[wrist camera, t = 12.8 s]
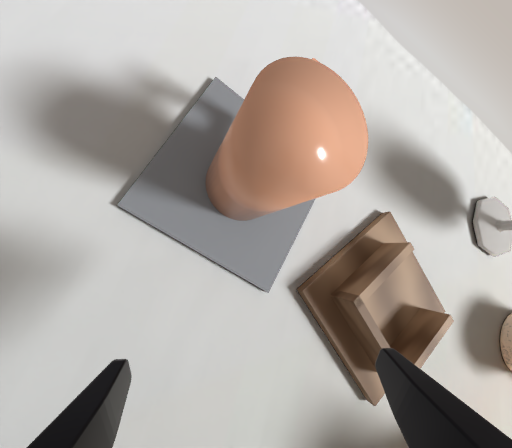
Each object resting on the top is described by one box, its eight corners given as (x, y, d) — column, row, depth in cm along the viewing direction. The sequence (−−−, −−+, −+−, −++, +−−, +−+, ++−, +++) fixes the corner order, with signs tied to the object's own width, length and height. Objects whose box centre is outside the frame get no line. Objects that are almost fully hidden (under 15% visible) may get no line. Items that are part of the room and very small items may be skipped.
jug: (260, 232, 21) (348, 217, 11) (193, 201, 19) (223, 148, 9) (292, 148, 23) (391, 69, 13) (233, 113, 21) (296, -12, 11)
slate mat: (266, 291, 21) (268, 292, 21) (118, 206, 18) (117, 205, 17) (327, 170, 25) (330, 169, 25) (214, 80, 22) (215, 76, 21)
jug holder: (367, 400, 24) (403, 427, 20) (296, 289, 22) (322, 297, 19) (436, 309, 29) (476, 318, 25) (382, 212, 27) (416, 207, 24)
